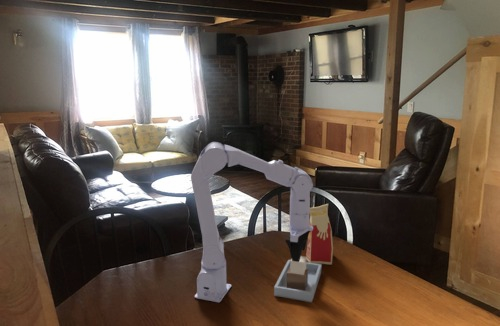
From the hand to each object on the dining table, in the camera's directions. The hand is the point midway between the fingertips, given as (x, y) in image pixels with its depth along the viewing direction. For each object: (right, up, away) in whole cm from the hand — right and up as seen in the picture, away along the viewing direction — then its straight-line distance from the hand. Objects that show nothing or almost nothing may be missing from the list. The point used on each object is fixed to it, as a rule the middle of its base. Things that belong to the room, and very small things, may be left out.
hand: (298, 255), depth 115 cm
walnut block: (0, -10, +2) cm, 10 cm away
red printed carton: (+10, -6, +21) cm, 24 cm away
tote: (+1, -10, +4) cm, 11 cm away
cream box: (0, -5, +1) cm, 5 cm away
